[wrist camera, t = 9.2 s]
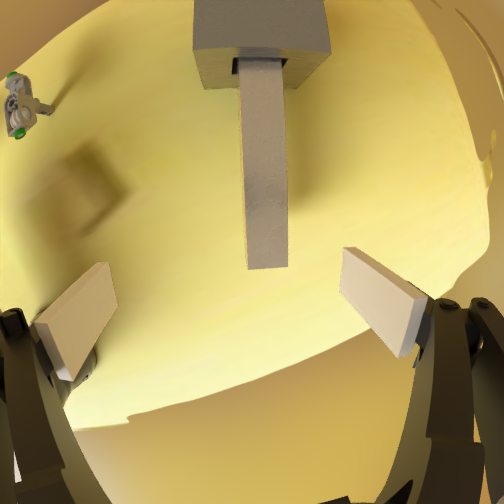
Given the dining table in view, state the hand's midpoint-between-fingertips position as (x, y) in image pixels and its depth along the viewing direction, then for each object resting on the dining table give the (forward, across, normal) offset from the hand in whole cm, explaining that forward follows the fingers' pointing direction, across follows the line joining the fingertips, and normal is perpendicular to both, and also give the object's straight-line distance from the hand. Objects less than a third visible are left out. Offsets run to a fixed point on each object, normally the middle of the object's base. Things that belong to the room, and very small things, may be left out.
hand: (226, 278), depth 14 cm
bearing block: (+22, -4, -21) cm, 30 cm away
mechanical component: (+22, +26, -18) cm, 39 cm away
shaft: (+16, -4, -9) cm, 18 cm away
